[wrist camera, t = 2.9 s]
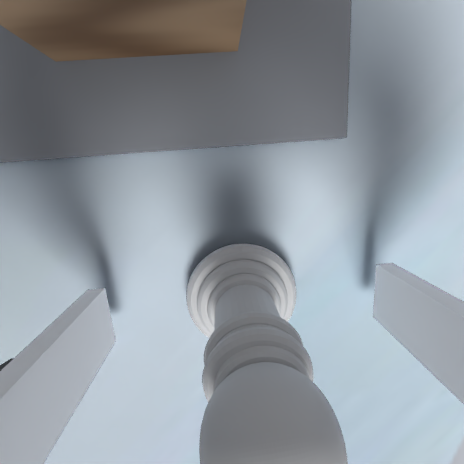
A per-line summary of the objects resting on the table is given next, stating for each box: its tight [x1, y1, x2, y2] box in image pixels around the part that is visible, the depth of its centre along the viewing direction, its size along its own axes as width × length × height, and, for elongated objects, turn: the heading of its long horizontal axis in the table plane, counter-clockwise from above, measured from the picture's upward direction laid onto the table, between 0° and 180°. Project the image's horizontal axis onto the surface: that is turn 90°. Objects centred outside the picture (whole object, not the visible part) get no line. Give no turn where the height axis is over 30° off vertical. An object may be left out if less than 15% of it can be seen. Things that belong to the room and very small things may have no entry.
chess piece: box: [186, 244, 348, 464], centre depth 9 cm, size 5×5×9 cm
